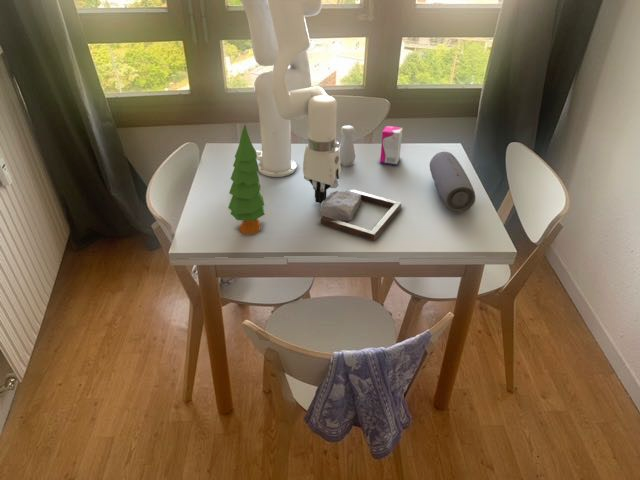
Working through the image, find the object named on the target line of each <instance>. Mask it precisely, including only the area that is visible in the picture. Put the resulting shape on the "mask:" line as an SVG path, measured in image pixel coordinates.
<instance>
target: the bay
mask: <svg viewBox="0 0 640 480" xmlns="http://www.w3.org/2000/svg"><path fill="white" fill-rule="evenodd" d="M349 191H350V192H353V193H357V194H361V202H366V203H369V204H373V205H377V206H379V207H383V208H387V209H388V211H387V212H386V213H384V216H382V218H381V219H380V220H379V221H378V222H377V223H376V224H375V226H374V227H373V228H372V230H371V229H368V228H364V227H361V226H358V225H355V224H351V223H348V222H346V221H341V220H335V219H332V218H328V217H325V216H323V215H322V216H321V217H320V225H321V226H324V227H327V228H330V229H333V230H337V231H339V232H343V233H347V234H350V235H353V236H356V237H359V238H363V239H366V240H369V241H372V242H374V241H375V240H376V239H377V238H378V237H379V235H381V233H382V232H383V231H384V230H385V228H386V227H387V226H388V224H390V222H391V221H392V220H393V219H394V218H395V216H396V215H397V214H398V213H399V212H400V210H401V209H402V202H400V201H398V200H393V199H390V198H386V197H383V196H379V195H374V194H370V193H367V192H364V191H360V190H356V189H353V188H351V189H350V190H349Z"/></svg>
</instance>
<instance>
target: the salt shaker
mask: <svg viewBox="0 0 640 480" xmlns="http://www.w3.org/2000/svg"><path fill="white" fill-rule="evenodd" d="M340 129H341V130H340V133H341V135H342V137H341V141H340V146H339V149H338V150H339V155H340V165H341V166H343V167H351V166H353V164H354V162H355V160H356V151H355V145H354V138H353V136H354V134H355V128H354V126H352V125H343V126H341V128H340Z"/></svg>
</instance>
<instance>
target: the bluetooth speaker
mask: <svg viewBox="0 0 640 480" xmlns="http://www.w3.org/2000/svg"><path fill="white" fill-rule="evenodd" d="M429 171H430V174H431V178H432V180H433V183H434V187H435V188H436V190H437V192H438V194H439V197H440V198H441V200H442V201H443V203H444V204H445V206H446V208H447V209H448V210H450V211H451V212H454V213H462V212H466V211H468V210H469V209H471V208H472V207H473V206H474V204H475V202H476V193H475V189H474V187H473V185H472V182H471V181H470V178H469V177H468V175H467V173H466V172H465V170H464V168H463V166H462V165H461V163H460V161H459V160H458V159H457V157H456V156H454V154H453V153H451V152H449V151H440V152H437V153H436V154H434V155H433V157H431V159H430V161H429Z"/></svg>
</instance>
